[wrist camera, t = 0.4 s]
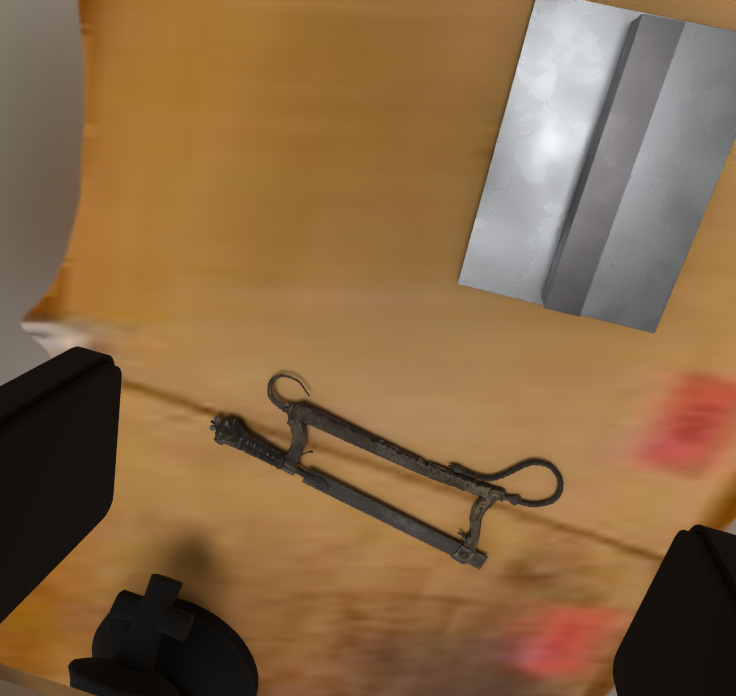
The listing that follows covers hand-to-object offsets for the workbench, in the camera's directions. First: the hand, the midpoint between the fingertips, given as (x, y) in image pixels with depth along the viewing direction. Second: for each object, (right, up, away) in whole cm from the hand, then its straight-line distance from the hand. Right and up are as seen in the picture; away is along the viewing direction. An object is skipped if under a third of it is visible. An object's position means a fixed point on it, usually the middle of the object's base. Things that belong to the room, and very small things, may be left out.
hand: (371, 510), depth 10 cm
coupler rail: (+13, +13, +25) cm, 31 cm away
